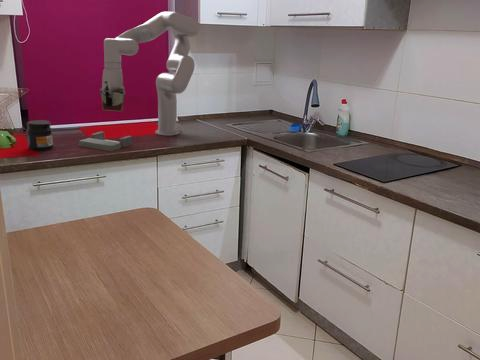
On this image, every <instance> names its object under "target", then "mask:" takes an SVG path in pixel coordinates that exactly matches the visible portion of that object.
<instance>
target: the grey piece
mask: <svg viewBox="0 0 480 360" xmlns="http://www.w3.org/2000/svg"><path fill="white" fill-rule="evenodd" d="M90 136H91V137H87V138H83V139H80V140H78V145H79V147H84V148H89V149H95V150H101V151H105V152H106V151H107V152H115V151H116V150H119V149H120V150H121V148H126V147H129V146H132V145H133V136H131V135H127V136H123V137H120V138H118V141H117V140H110V139H105V136H106V135H105V132H104V131H98V132H95V133H91V134H90Z"/></svg>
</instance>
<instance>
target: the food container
mask: <svg viewBox="0 0 480 360" xmlns="http://www.w3.org/2000/svg"><path fill="white" fill-rule="evenodd" d="M101 90H102V87H100V89H99V93H100V97H101V104H102V110H103V111H113V112H123V110H124V101H125V99H124V97H125V95H126V91H125V89H121V90H118V91H112V95H111V98H112V106H106V97H105V95H104V93H103V92H102V91H101ZM108 93H109V92H108Z"/></svg>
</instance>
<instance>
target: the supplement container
mask: <svg viewBox="0 0 480 360" xmlns="http://www.w3.org/2000/svg"><path fill="white" fill-rule="evenodd" d="M26 126H27V129H26V133H27V135H26V136H27V145H28V147H27V148H29V150H31V151H34V152H35V151H36V152H40V151H41V152H42V151H49V150H51V149H53V148H54V140H53V128H52V127H51V122H50V121H49V120H45V119H40V120H38V119H36V120H30V121H27V122H26Z"/></svg>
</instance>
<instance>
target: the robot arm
mask: <svg viewBox="0 0 480 360" xmlns="http://www.w3.org/2000/svg"><path fill="white" fill-rule="evenodd" d="M166 31H171V33H172V35H173V40H174V44H173V46H172V48H171V51H170V54H169V56H168V59H166V60H167V61H166V63H165V64H166V65H165V66H166V69H167V70H168V71H169V72H161V73H160V74H157V75H158V76H156V78H155V79H156V80H155V85H156V86H155V88H156V93H157V112H158V113H157V114H158V115H157V117H158V118H157V119H158V127H157V129H156V130H155V134H156V135H159V136H165V137H166V136H170V137H171V136H177V135H179V134H180V130H178V128H180V127H181V124H180V123H177V97H176V94H179V95H180V94H182V93H183V92H185V91H186V90H187V87H188V86H189V83H190V81H191V78H192V76H193V74H194V70H195V65H196V64H195V60H194V59H193V57H192V56H190V55H189V53H190V50H191V43H190V39H189V38H191V37H192V38H193V37H195V36H197V35H198V34H199V32H200V25H199V23H198V21H197V20H196V19H194V18H192V17H190V16H187V15H184V14H182V13H180V12H176V11H162V12H160V13H158V14H156V15H155V16H153V17H152V18H150V19H148V20H147V21H145V22H144V23H143V24H139V25H138V26H136V27H133V28H131V29H128V30H126V31H124V32H123V33H121V34H119V35H118V36H116V37H115V38H111V37H110V38H109V37H106V38H105V39H104V40H103V53H104V56H103V57H104V65H103V66H104V69H103V70H102V76H101V77H102V78H101V79H102V80H101V81H102V82H101V88H102V90H101V91H102V92H103V93H104V95H105V97H106V106H112V98H111V95H112V91H118V90H121V89H124V90H125V86H124V79H123V78H124V76H123V69H122V55H125V56H134V55H136V54H137V53H138V52H139V44H141V43H147V42H150V41H153V40H155V39H157V38H158V37H159V36H161V35H162V34H164V33H166ZM108 92H109V93H108Z"/></svg>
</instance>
